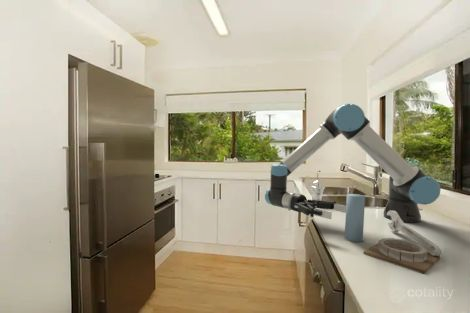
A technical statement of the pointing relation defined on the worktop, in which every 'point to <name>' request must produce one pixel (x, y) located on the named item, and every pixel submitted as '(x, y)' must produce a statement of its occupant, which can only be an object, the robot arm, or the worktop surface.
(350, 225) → the post
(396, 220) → the wrench
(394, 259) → the collar board
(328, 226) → the worktop surface
